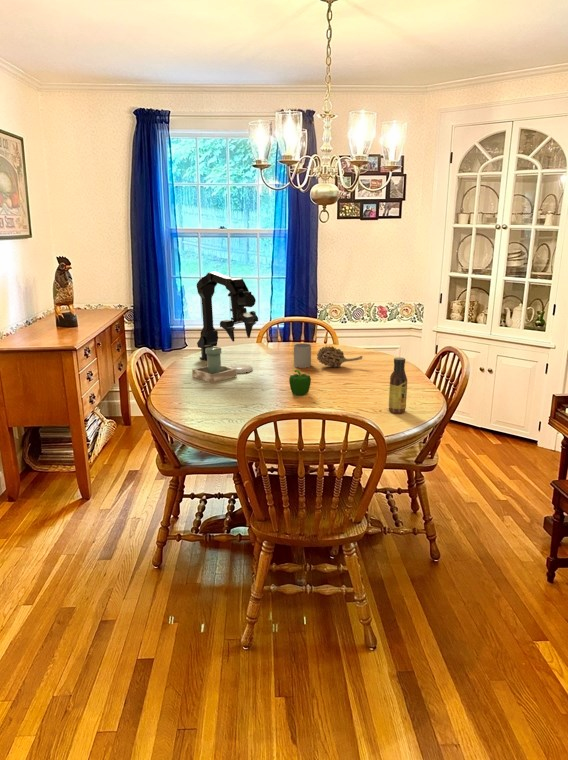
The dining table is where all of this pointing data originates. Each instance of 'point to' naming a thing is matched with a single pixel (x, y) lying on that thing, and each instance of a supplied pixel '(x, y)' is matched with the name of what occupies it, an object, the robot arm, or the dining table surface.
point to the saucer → (242, 368)
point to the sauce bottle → (398, 387)
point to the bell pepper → (299, 383)
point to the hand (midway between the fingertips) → (241, 339)
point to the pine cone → (333, 357)
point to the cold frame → (224, 374)
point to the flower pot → (213, 359)
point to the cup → (302, 355)
